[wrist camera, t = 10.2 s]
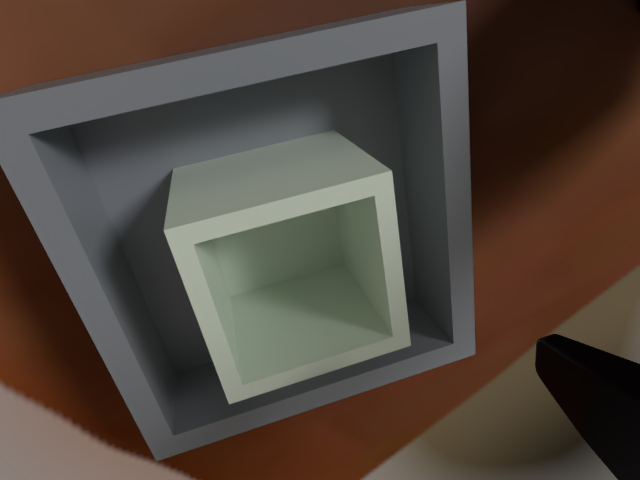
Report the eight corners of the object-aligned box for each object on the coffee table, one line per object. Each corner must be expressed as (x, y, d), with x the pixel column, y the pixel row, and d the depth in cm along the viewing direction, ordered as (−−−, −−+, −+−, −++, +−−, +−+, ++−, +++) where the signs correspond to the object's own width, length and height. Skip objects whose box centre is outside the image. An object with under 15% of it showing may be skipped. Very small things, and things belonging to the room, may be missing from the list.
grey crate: (404, 7, 17) (466, 0, 13) (428, 300, 24) (475, 354, 20) (26, 86, 15) (-32, 104, 11) (163, 383, 22) (156, 461, 18)
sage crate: (333, 129, 18) (392, 170, 13) (356, 266, 21) (411, 345, 16) (173, 169, 17) (163, 230, 12) (219, 305, 20) (228, 404, 15)
